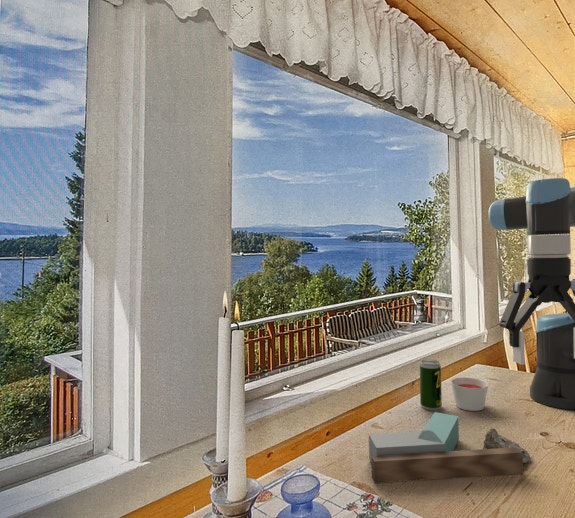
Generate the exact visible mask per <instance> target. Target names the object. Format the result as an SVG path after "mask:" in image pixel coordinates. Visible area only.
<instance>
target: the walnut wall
mask: <svg viewBox="0 0 575 518" xmlns="http://www.w3.org/2000/svg"><path fill="white" fill-rule="evenodd" d="M371 458H372V463H371V478H372V480H373V482H374V484H381V483H394V482H395V483H396V482H397V483H398V482H411V481H413V482H414V481H426V480H427V481H428V480H440V479H441V480H442V479H455V478H456V479H458V478H474V477H475V478H476V477H487V476H503V475H505V476H507V475H517V474H520V475H521V474H524V463H523V452H522V451H520V450H519V449H518V448H517V447H513V448H497V449H483V448H482V449H469V450H453V451H447V452H430V453H414V454H397V455H381V456H371Z"/></svg>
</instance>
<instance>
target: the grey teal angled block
mask: <svg viewBox="0 0 575 518" xmlns="http://www.w3.org/2000/svg"><path fill="white" fill-rule="evenodd" d="M459 426H460V425H459V416H458V415H452V414H446V413H441V412H437V411H434V412H433V414H432V416H431V418H430V419H429V420H428V422H427V423H426V424H425V426H424V428H423V429H422V430H416V431H415V430H413V431H393V432H378V433H376V432H375V433H368V459H369V460H370V463H371V464H372V458H371V456H381V455H397V454H414V453H430V452H447V451H455V448H456V447H457V444H458V441H459V440H460V433H459V432H460V431H459V430H460V429H459Z"/></svg>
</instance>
